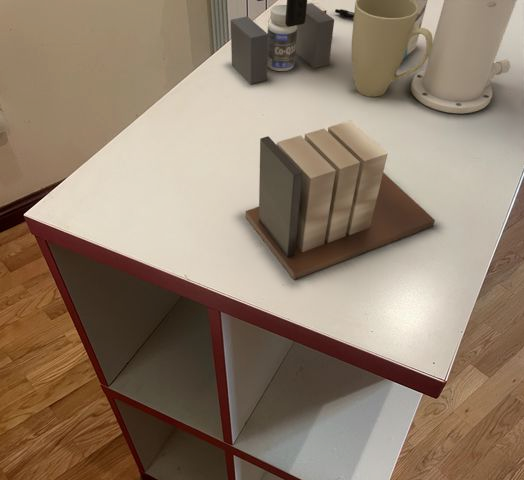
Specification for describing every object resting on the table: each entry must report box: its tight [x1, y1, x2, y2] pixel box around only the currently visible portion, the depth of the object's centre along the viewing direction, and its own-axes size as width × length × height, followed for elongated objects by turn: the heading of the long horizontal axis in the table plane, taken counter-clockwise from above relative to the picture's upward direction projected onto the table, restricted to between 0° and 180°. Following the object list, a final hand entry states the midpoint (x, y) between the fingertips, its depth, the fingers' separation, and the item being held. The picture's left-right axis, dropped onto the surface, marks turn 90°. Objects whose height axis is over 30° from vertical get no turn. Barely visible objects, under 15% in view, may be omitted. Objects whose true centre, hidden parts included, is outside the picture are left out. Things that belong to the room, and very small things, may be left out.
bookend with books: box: [245, 120, 436, 280], centre depth 59 cm, size 20×12×12 cm, turn 118°
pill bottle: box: [267, 4, 297, 72], centre depth 83 cm, size 5×5×8 cm
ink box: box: [403, 0, 428, 60], centre depth 84 cm, size 9×5×15 cm, turn 146°
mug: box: [351, 0, 434, 97], centre depth 78 cm, size 11×10×12 cm
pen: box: [334, 8, 354, 19], centre depth 96 cm, size 14×2×1 cm, turn 59°
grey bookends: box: [230, 3, 335, 85], centre depth 84 cm, size 15×7×7 cm, turn 118°
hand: (279, 11), depth 80 cm, fingers open, 9 cm apart
